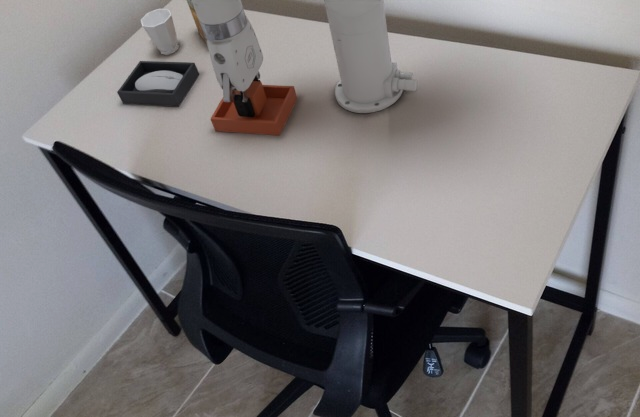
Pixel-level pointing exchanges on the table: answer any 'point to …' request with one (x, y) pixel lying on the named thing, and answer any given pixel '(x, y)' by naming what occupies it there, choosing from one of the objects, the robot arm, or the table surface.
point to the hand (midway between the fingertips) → (252, 105)
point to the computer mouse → (158, 82)
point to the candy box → (196, 19)
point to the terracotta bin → (266, 121)
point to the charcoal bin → (175, 98)
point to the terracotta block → (255, 96)
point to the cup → (161, 30)
